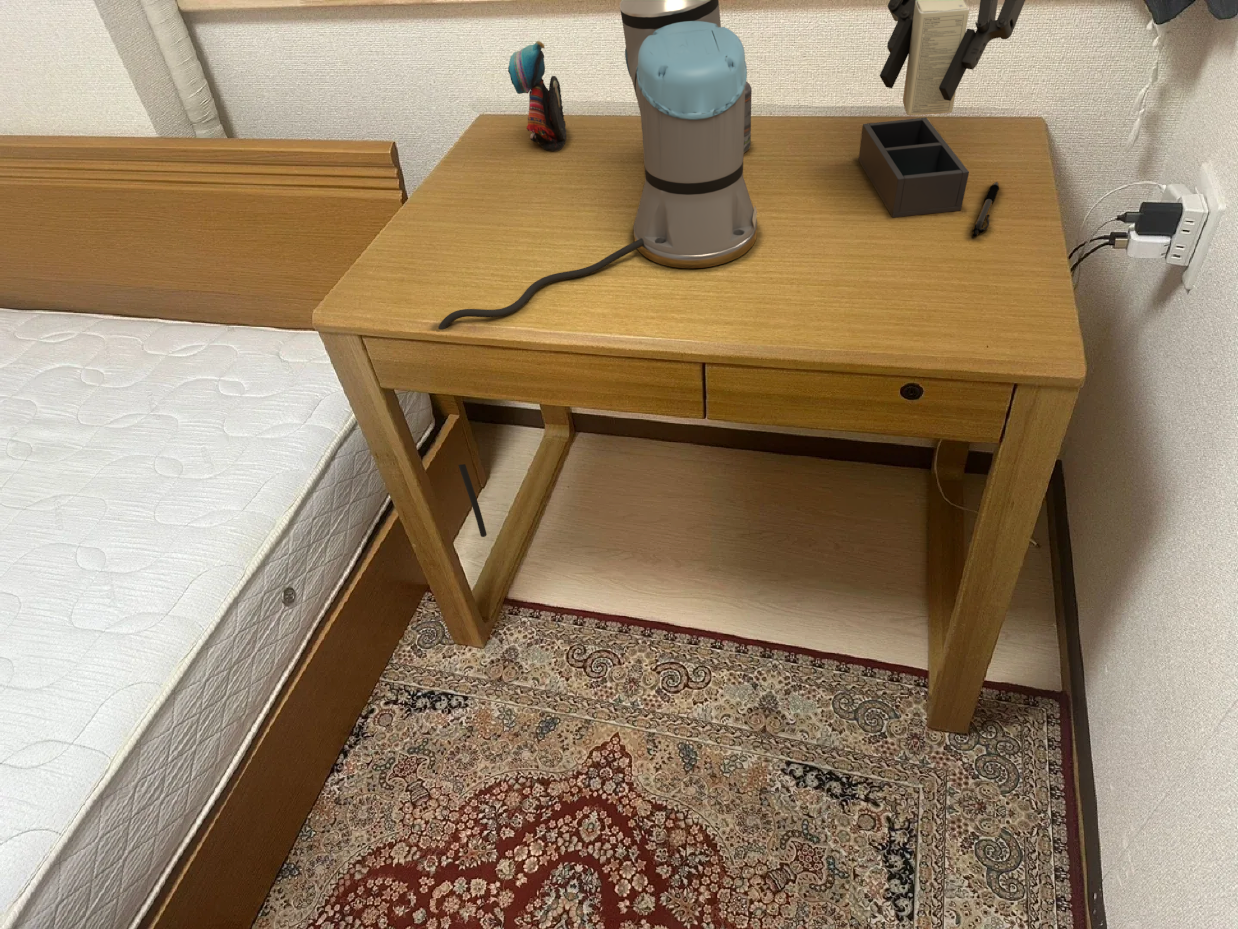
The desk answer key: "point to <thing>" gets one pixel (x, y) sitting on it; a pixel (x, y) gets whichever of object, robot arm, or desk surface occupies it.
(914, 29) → the box
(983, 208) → the pen
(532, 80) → the figurine
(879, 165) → the holder
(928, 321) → the desk surface
